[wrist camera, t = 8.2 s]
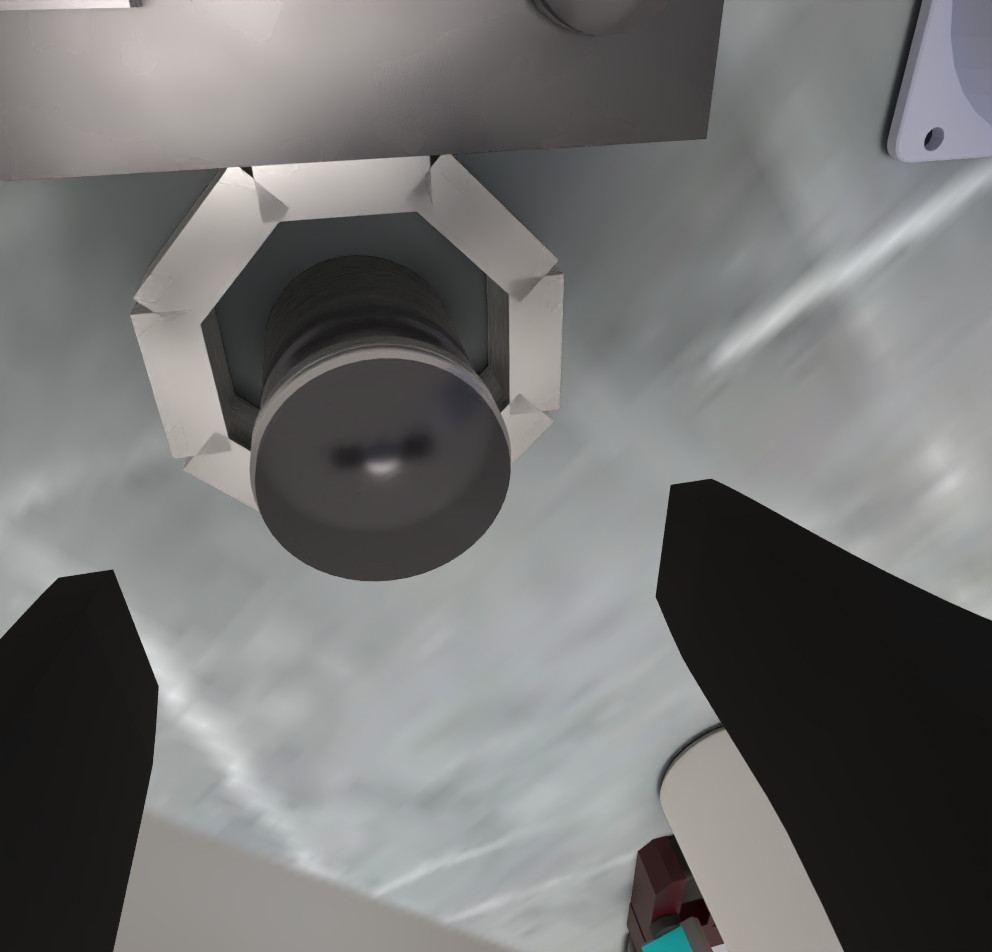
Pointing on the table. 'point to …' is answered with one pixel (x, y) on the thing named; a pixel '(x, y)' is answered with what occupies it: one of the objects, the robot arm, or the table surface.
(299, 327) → the lens
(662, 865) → the toy gun
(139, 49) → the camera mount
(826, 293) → the table surface
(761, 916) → the can
